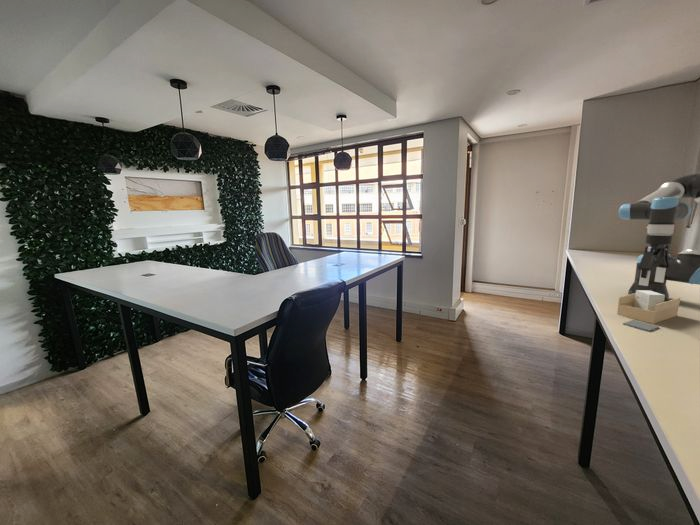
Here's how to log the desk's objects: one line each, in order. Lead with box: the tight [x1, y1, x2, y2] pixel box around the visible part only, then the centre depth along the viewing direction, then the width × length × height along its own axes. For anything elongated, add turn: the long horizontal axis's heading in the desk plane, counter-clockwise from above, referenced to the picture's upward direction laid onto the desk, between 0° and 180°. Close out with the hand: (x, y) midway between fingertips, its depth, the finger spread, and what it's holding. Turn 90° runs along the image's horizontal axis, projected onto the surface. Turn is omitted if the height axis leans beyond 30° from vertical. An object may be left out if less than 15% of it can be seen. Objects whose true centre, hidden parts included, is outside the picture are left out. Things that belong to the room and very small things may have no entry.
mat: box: [622, 319, 660, 333], centre depth 116 cm, size 8×8×1 cm
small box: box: [634, 290, 665, 312], centre depth 127 cm, size 8×6×10 cm
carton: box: [616, 293, 681, 325], centre depth 127 cm, size 21×12×8 cm, turn 114°
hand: (651, 283), depth 126 cm, fingers open, 13 cm apart
